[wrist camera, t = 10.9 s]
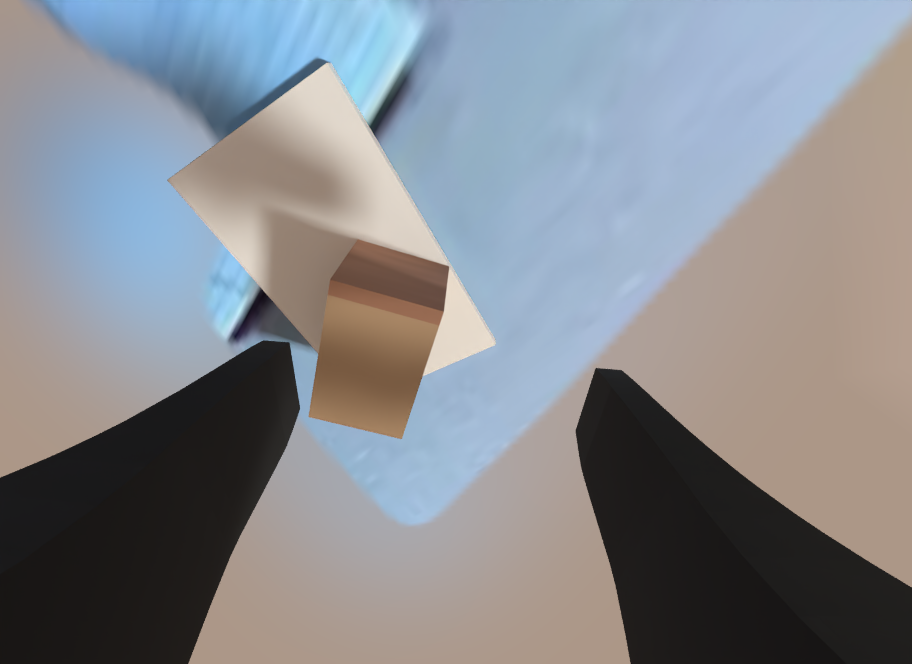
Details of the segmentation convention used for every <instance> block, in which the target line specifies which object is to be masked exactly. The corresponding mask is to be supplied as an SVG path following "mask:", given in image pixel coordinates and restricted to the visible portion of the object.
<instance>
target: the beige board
mask: <svg viewBox="0 0 912 664" xmlns="http://www.w3.org/2000/svg"><path fill="white" fill-rule="evenodd" d="M168 182H169V183H170V184H171V185H172V186H173V187H174V188H175V190H176V191H177V192H178V193H179V194H180V195H181V196H182V198H183V199H184V200H185V201H186V202H187V203H188V205H189V206H190V207H191V208H192V209H193V210H194V211H195V213H196V214H197V215H198V216H199V217H200V218H201V219H202V221H203V222H204V223H205V224H206V225H207V226H208V227H209V228H210V230H211V231H212V232H213V233H214V234H215V236H216V237H217V238H218V239H219V240H220V241H221V242H222V244H223V245H224V246H225V247H226V248H227V249H228V250H229V252H230V253H231V254H232V255H233V256H234V257H235V259H236V260H237V261H238V262H239V263H240V264H241V265H242V267H243V268H244V269H245V270H246V271H247V272H248V273H249V275H250V276H251V277H252V278H253V279H254V280H255V281H256V283H257V284H258V285H259V286H260V287H261V288H262V290H263V291H264V292H265V293H266V294H267V295H268V296H269V298H270V299H271V300H272V301H273V302H274V303H275V304H276V306H277V307H278V308H279V309H280V310H281V311H282V312H283V314H284V315H285V316H286V317H287V318H288V319H289V321H290V322H291V323H292V324H293V325H294V326H295V327H296V329H297V330H298V331H299V332H300V333H301V334H302V335H303V337H304V338H305V339H306V340H307V341H308V342H309V344H310V345H311V346H312V347H313V348H314V349H315V350H316V352H317V353H319V347H320V341H321V334H322V328H323V321H324V315H325V308H326V302H327V295H328V289H329V283H330V279H331V277H332V276H333V274H334V273H335V272H336V270H337V269H338V267H339V266H340V264H341V263H342V261H343V260H344V258H345V257H346V256H347V254H348V253H349V251H350V250H351V248H352V247H353V245H354V244H355V243H356V241H357V240H358V239H359V240H362V241H365V242H369V243H372V244H376V245H379V246H382V247H386V248H389V249H392V250H396V251H399V252H402V253H406V254H409V255H413V256H416V257H419V258H423V259H426V260H429V261H433V262H436V263H440V264H443V265H446V266H449V273H448V282H447V290H446V299H445V307H444V313H443V316H442V319H441V322H440V325H439V328H438V331H437V334H436V337H435V340H434V343H433V346H432V349H431V352H430V355H429V358H428V361H427V364H426V367H425V370H424V373H423V376H424V375H426V374H429V373H431V372H433V371H436V370H438V369H440V368H443V367H445V366H447V365H450V364H452V363H454V362H457V361H459V360H461V359H464V358H466V357H468V356H471V355H473V354H475V353H478V352H480V351H482V350H485V349H487V348H489V347H492V346H494V345H496V341H495V338H494V336H493V334H492V333H491V331H490V329H489V328H488V326H487V324H486V323H485V321H484V319H483V317H482V316H481V314H480V312H479V311H478V309H477V307H476V306H475V304H474V302H473V301H472V299H471V297H470V296H469V294H468V292H467V291H466V289H465V287H464V286H463V284H462V282H461V280H460V279H459V277H458V275H457V274H456V272H455V270H454V269H453V267H452V265H451V264H450V262H449V260H448V259H447V257H446V255H445V254H444V252H443V250H442V248H441V247H440V245H439V243H438V242H437V240H436V238H435V237H434V235H433V233H432V232H431V230H430V228H429V227H428V225H427V223H426V222H425V220H424V218H423V216H422V215H421V213H420V211H419V210H418V208H417V206H416V205H415V203H414V201H413V200H412V198H411V196H410V195H409V193H408V191H407V190H406V188H405V186H404V184H403V183H402V181H401V179H400V178H399V176H398V174H397V173H396V171H395V169H394V168H393V166H392V164H391V163H390V161H389V159H388V158H387V156H386V154H385V153H384V151H383V149H382V147H381V146H380V144H379V142H378V141H377V139H376V137H375V136H374V134H373V132H372V131H371V129H370V127H369V126H368V124H367V122H366V121H365V119H364V117H363V115H362V114H361V112H360V110H359V109H358V107H357V105H356V104H355V102H354V100H353V99H352V97H351V95H350V94H349V92H348V90H347V89H346V87H345V85H344V83H343V82H342V80H341V78H340V77H339V75H338V73H337V72H336V70H335V68H334V67H333V65H332V63H326V64H324V65H323V66H322V67H320V68H319V69H318V70H316V71H315V72H314V73H312V74H311V75H310V76H308V77H307V78H305V79H304V80H303V81H301V82H300V83H299V84H297V85H296V86H295V87H293V88H292V89H290V90H289V91H288V92H286V93H285V94H284V95H282V96H281V97H280V98H278V99H277V100H275V101H274V102H273V103H271V104H270V105H269V106H267V107H266V108H265V109H263V110H262V111H260V112H259V113H258V114H256V115H255V116H254V117H252V118H251V119H250V120H248V121H247V122H246V123H244V124H243V125H241V126H240V127H239V128H237V129H236V130H235V131H233V132H232V133H231V134H229V135H228V136H226V137H225V138H224V139H222V140H221V141H220V142H218V143H217V144H216V145H214V146H213V147H212V148H210V149H209V150H207V151H206V152H205V153H203V154H202V155H201V156H199V157H198V158H196V159H195V160H194V161H192V162H191V163H190V164H188V165H187V166H186V167H184V168H183V169H182V170H180V171H179V172H177V173H176V174H175V175H174V176H172V177H171V178H169V179H168Z"/></svg>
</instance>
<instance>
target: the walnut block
mask: <svg viewBox="0 0 912 664" xmlns="http://www.w3.org/2000/svg"><path fill="white" fill-rule="evenodd" d="M448 273H449V266H446V265H443V264H440V263H436V262H433V261H429V260H426V259H423V258H419V257H416V256H413V255H409V254H406V253H402V252H399V251H396V250H392V249H389V248H386V247H382V246H379V245H376V244H372V243H369V242H365V241H362V240H359V239H358V240H357V241H356V243H355V244H354V245H353V247H352V248H351V250H350V251H349V253H348V254H347V256H346V257H345V258H344V260H343V261H342V263H341V264H340V266H339V267H338V269H337V270H336V272H335V273H334V274H333V276H332V277H331V279H330V283H329V289H328V295H327V302H326V308H325V315H324V321H323V328H322V334H321V341H320V347H319V353H318V360H317V366H316V373H315V379H314V386H313V392H312V398H311V405H310V411H309V417H311V418H315V419H320V420H324V421H328V422H332V423H336V424H341V425H345V426H349V427H353V428H357V429H362V430H366V431H370V432H374V433H378V434H383V435H387V436H391V437H395V438H399V439H402V436H403V433H404V430H405V427H406V424H407V421H408V418H409V415H410V412H411V409H412V406H413V403H414V400H415V397H416V394H417V391H418V388H419V385H420V382H421V379H422V376H423V373H424V370H425V367H426V364H427V361H428V358H429V355H430V352H431V349H432V346H433V343H434V340H435V337H436V334H437V331H438V328H439V325H440V322H441V319H442V316H443V313H444V307H445V299H446V290H447V282H448Z"/></svg>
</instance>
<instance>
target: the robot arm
mask: <svg viewBox="0 0 912 664" xmlns="http://www.w3.org/2000/svg"><path fill="white" fill-rule="evenodd" d="M299 410H300V405H299V399H298V393H297V386H296V380H295V374H294V368H293V362H292V356H291V349H290V343H288V342H276V341H264V340H263V341H261V342H260V343H258V344H256V345H254V346H252V347H250V348H249V349H247V350H245V351H244V352H242V353H240V354H239V355H237V356H235V357H234V358H232V359H231V360H229V361H228V362H226V363H224V364H222V365H221V366H219V367H218V368H216V369H214V370H213V371H211V372H209V373H208V374H206V375H204V376H203V377H201V378H200V379H198V380H196V381H195V382H193V383H191V384H190V385H188V386H186V387H185V388H183V389H181V390H180V391H178V392H176V393H174V394H172V395H171V396H169V397H167V398H165V399H163V400H162V401H160V402H158V403H156V404H155V405H153V406H151V407H149V408H147V409H146V410H144V411H142V412H140V413H138V414H137V415H135V416H133V417H131V418H129V419H128V420H126V421H124V422H122V423H120V424H118V425H116V426H114V427H112V428H110V429H108V430H106V431H104V432H102V433H100V434H98V435H96V436H94V437H92V438H90V439H88V440H85V441H83V442H81V443H79V444H77V445H75V446H73V447H71V448H69V449H66V450H64V451H62V452H60V453H58V454H56V455H53V456H51V457H49V458H47V459H44V460H42V461H39V462H37V463H34V464H32V465H30V466H27V467H25V468H23V469H20V470H18V471H15V472H13V473H10V474H8V475H6V476H3V477H1V478H0V664H188V663H189V660H190V658H191V655H192V652H193V650H194V647H195V644H196V642H197V639H198V637H199V634H200V631H201V629H202V626H203V623H204V621H205V618H206V616H207V613H208V610H209V608H210V605H211V603H212V600H213V597H214V595H215V593H216V590H217V588H218V585H219V583H220V581H221V578H222V576H223V573H224V571H225V568H226V566H227V563H228V561H229V558H230V556H231V554H232V552H233V550H234V548H235V545H236V543H237V541H238V539H239V537H240V535H241V533H242V531H243V529H244V527H245V525H246V524H247V521H248V520H249V518H250V516H251V514H252V512H253V510H254V508H255V506H256V504H257V503H258V501H259V499H260V497H261V495H262V493H263V491H264V489H265V487H266V485H267V483H268V481H269V479H270V478H271V476H272V474H273V472H274V470H275V468H276V466H277V464H278V462H279V460H280V458H281V456H282V454H283V452H284V450H285V448H286V446H287V443H288V441H289V438H290V435H291V433H292V430H293V428H294V425H295V422H296V419H297V416H298V413H299ZM576 437H577V443H578V451H579V457H580V462H581V468H582V472H583V476H584V479H585V483H586V486H587V490H588V493H589V496H590V500H591V503H592V506H593V510H594V513H595V516H596V519H597V523H598V526H599V529H600V533H601V536H602V539H603V543H604V546H605V549H606V552H607V555H608V559H609V562H610V566H611V569H612V574H613V577H614V581H615V585H616V589H617V594H618V600H619V605H620V610H621V615H622V619H623V624H624V630H625V634H626V640H627V646H628V651H629V657H630V662H631V664H912V587H910V586H908V585H906V584H905V583H903V582H902V581H900V580H898V579H897V578H894V577H893V576H891V575H890V574H888V573H886V572H885V571H883V570H882V569H880V568H878V567H877V566H875V565H873V564H872V563H870V562H868V561H867V560H865V559H864V558H862V557H861V556H859V555H857V554H856V553H854V552H852V551H851V550H850V549H848V548H846V547H845V546H843V545H842V544H840V543H839V542H837V541H835V540H834V539H832V538H831V537H829V536H828V535H826V534H825V533H823V532H821V531H820V530H818V529H817V528H815V527H814V526H812V525H811V524H810V523H808V522H807V521H805V520H804V519H802V518H800V517H799V516H798V515H796V514H795V513H793V512H792V511H791V510H789V509H788V508H786V507H785V506H784V505H782V504H781V503H779V502H778V501H777V500H775V499H774V498H773V497H771V496H770V495H768V494H767V493H766V492H764V491H763V490H761V489H760V488H759V487H757V486H756V485H755V484H753V483H752V482H751V481H749V480H748V479H747V478H746V477H744V476H743V475H742V474H740V473H739V472H738V471H736V470H735V469H734V468H733V467H732V466H730V465H729V464H728V463H727V462H725V461H724V460H723V459H722V458H720V457H719V456H718V455H717V454H716V453H714V452H713V451H712V450H711V449H710V448H708V447H707V446H706V445H705V444H704V443H703V442H701V441H700V440H699V439H698V438H697V437H696V436H694V435H693V434H692V433H691V432H690V431H689V430H688V429H686V428H685V427H684V426H683V425H682V424H681V423H680V422H679V421H677V420H676V419H675V418H674V417H673V416H672V415H671V414H670V413H669V412H667V411H666V410H665V409H664V408H663V407H662V406H661V405H660V404H659V403H658V402H657V401H655V400H654V399H653V398H652V397H651V396H650V395H649V394H648V393H647V392H646V391H645V390H644V389H642V388H641V387H640V386H639V385H638V384H637V383H636V382H635V381H634V380H633V379H631V378H630V377H629V376H628V375H627V374H625V373H624V372H623V371H622V370H612V369H600V368H596V369H595V372H594V375H593V378H592V381H591V384H590V388H589V391H588V394H587V397H586V400H585V403H584V406H583V409H582V412H581V416H580V419H579V422H578V425H577V428H576Z"/></svg>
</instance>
